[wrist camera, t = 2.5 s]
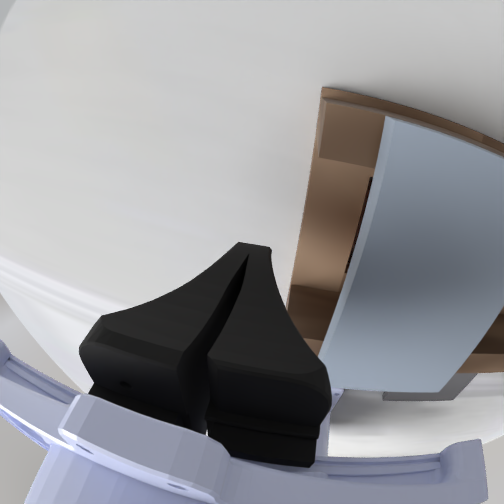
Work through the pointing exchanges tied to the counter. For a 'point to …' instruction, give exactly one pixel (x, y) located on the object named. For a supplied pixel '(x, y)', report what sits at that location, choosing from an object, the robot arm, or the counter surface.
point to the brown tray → (357, 212)
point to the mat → (445, 393)
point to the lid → (420, 265)
